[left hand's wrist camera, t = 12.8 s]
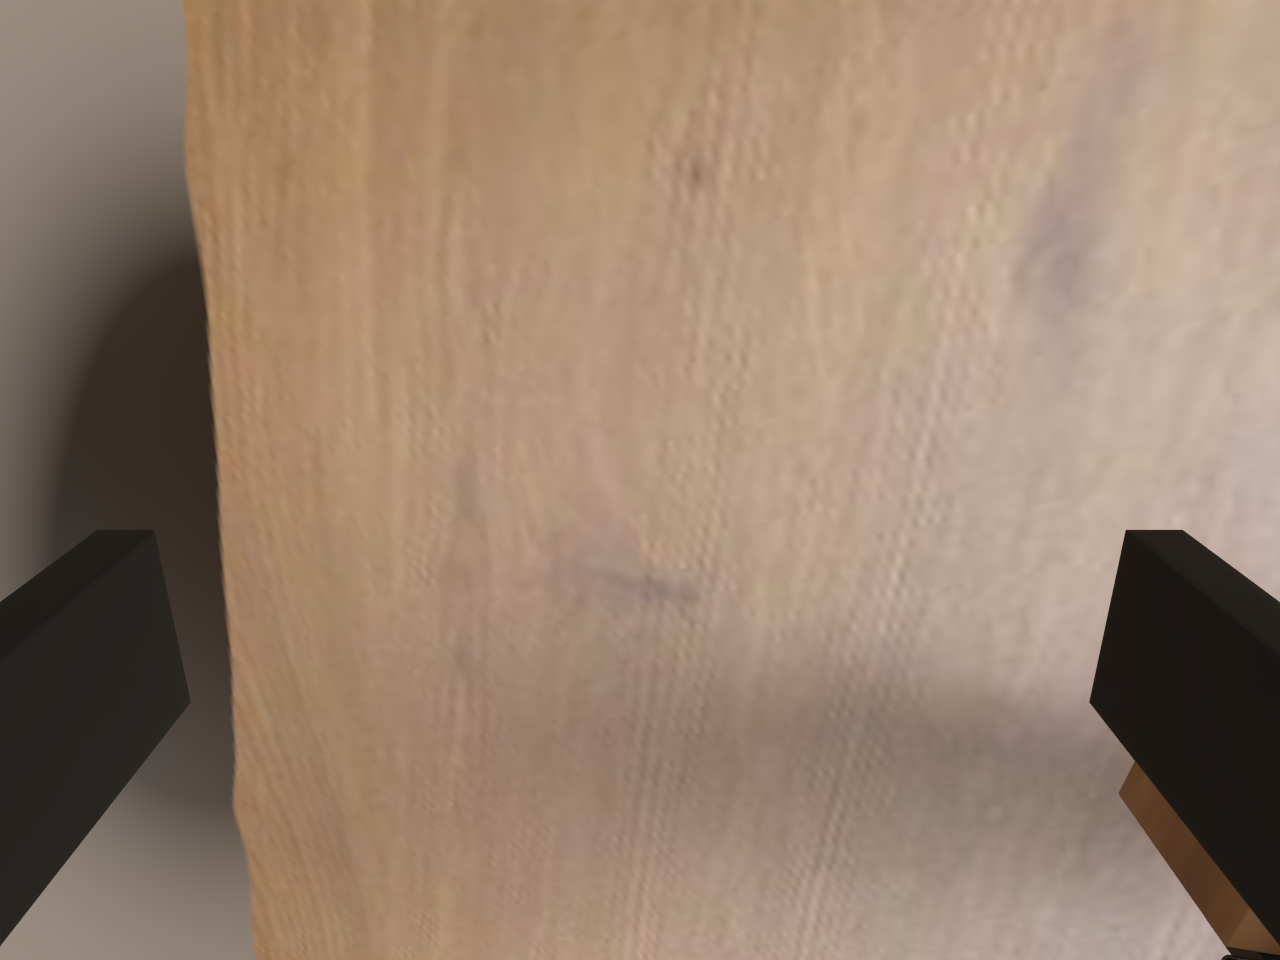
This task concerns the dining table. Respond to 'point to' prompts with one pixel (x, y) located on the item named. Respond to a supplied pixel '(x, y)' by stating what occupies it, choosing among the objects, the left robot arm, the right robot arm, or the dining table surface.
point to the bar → (1195, 867)
